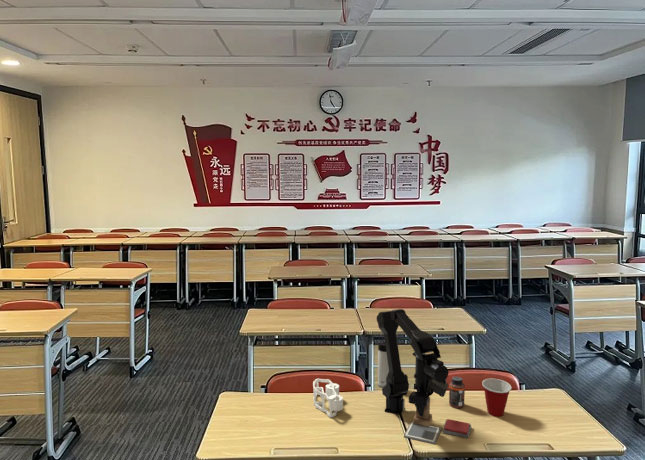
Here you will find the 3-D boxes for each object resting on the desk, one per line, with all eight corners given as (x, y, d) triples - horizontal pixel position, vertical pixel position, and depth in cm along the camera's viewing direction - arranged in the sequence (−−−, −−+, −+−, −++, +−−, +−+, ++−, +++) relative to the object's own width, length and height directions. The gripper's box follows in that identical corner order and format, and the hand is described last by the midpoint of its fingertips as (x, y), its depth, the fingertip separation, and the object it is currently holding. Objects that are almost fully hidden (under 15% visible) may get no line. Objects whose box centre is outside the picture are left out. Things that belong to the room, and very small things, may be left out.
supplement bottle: (465, 409, 182) (465, 382, 182) (449, 408, 184) (450, 380, 183) (463, 402, 188) (464, 376, 187) (448, 401, 190) (449, 374, 189)
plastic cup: (487, 420, 173) (487, 390, 172) (477, 407, 184) (477, 378, 183) (515, 420, 174) (516, 390, 173) (504, 407, 184) (505, 378, 183)
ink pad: (442, 432, 165) (442, 428, 165) (446, 422, 172) (446, 418, 172) (468, 438, 161) (468, 433, 161) (471, 427, 168) (471, 423, 168)
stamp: (413, 424, 163) (413, 400, 162) (416, 417, 168) (417, 393, 167) (428, 427, 161) (429, 403, 160) (431, 420, 166) (432, 396, 165)
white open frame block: (344, 416, 177) (344, 398, 177) (316, 418, 176) (315, 399, 175) (337, 394, 197) (337, 377, 196) (312, 395, 196) (312, 378, 195)
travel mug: (383, 390, 200) (383, 345, 198) (375, 384, 206) (375, 341, 204) (395, 387, 203) (395, 343, 201) (386, 381, 209) (386, 339, 207)
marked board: (403, 437, 162) (403, 435, 162) (411, 422, 172) (411, 421, 172) (435, 444, 158) (435, 442, 158) (440, 429, 168) (440, 427, 167)
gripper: (441, 385, 151) (440, 430, 153) (451, 365, 168) (449, 406, 169) (408, 379, 156) (407, 423, 157) (420, 360, 173) (419, 400, 174)
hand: (422, 413), depth 164 cm, fingers closed on stamp, 4 cm apart
